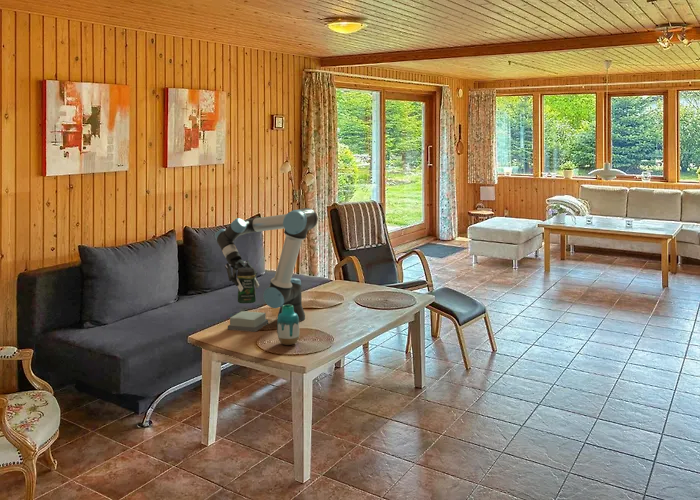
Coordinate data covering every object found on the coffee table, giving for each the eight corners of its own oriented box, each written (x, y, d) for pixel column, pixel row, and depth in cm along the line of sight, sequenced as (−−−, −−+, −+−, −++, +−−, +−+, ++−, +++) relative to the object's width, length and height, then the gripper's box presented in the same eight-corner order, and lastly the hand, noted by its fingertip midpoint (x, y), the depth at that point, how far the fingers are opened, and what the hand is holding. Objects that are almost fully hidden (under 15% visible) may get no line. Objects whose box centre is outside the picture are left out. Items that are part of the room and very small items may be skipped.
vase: (300, 340, 317) (299, 302, 313) (299, 347, 306) (298, 308, 303) (278, 340, 316) (277, 303, 313) (276, 347, 306) (275, 308, 302)
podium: (268, 323, 346) (267, 312, 345) (255, 331, 331) (255, 320, 330) (241, 321, 351) (240, 310, 350) (227, 329, 336) (227, 318, 335)
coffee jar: (237, 304, 334) (236, 269, 331) (237, 300, 342) (236, 266, 339) (256, 303, 336) (255, 268, 333) (256, 299, 344) (254, 265, 340)
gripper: (246, 256, 354) (264, 289, 345) (211, 261, 339) (229, 296, 330) (251, 248, 349) (270, 281, 340) (216, 253, 334) (234, 287, 325)
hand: (250, 288), depth 335 cm, fingers closed on coffee jar, 9 cm apart
